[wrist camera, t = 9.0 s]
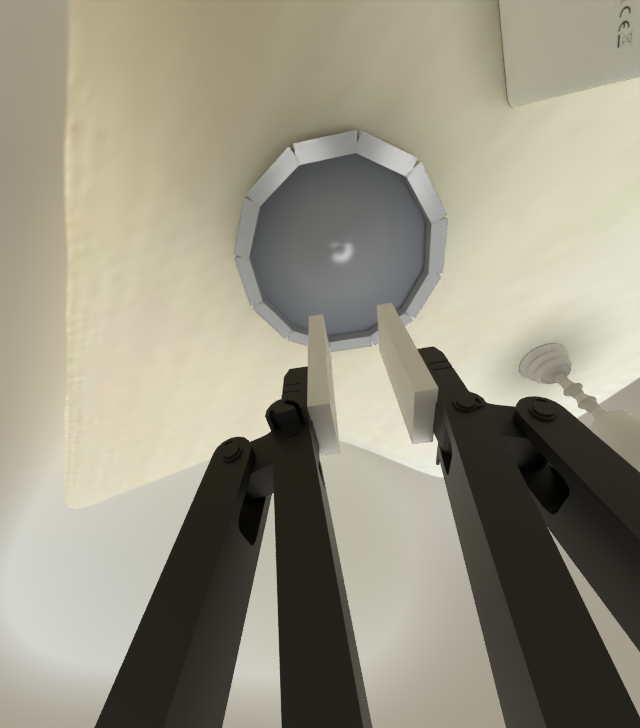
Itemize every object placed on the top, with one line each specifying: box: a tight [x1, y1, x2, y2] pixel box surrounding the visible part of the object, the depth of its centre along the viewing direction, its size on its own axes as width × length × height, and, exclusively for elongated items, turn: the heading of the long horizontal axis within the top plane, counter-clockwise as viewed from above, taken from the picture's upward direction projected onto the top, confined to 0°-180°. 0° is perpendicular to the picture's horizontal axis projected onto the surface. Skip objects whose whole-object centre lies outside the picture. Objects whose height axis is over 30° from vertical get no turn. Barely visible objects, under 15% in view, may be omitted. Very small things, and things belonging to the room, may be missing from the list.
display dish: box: [234, 130, 448, 352], centre depth 24 cm, size 17×17×2 cm
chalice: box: [519, 344, 640, 472], centre depth 26 cm, size 7×7×18 cm
